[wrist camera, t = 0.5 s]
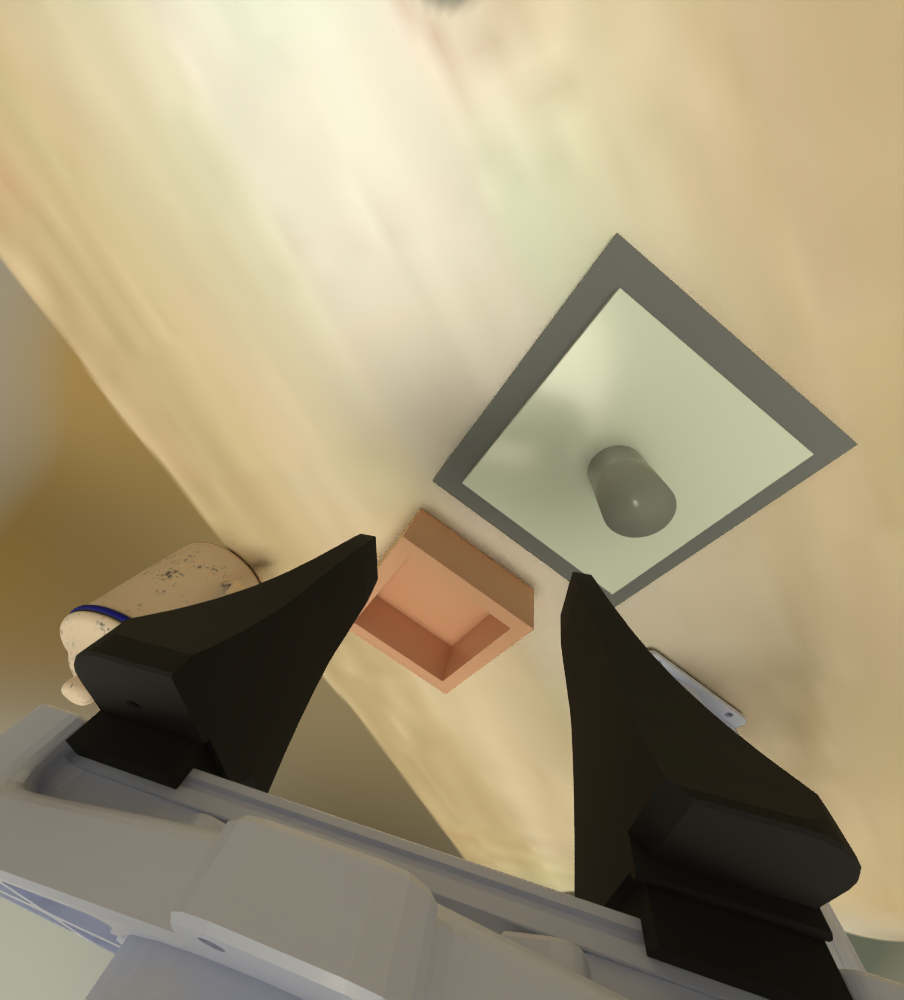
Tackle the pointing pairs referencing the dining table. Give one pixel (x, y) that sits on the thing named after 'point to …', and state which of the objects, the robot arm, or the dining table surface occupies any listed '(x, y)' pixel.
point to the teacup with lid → (153, 598)
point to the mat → (698, 333)
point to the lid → (630, 449)
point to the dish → (443, 605)
